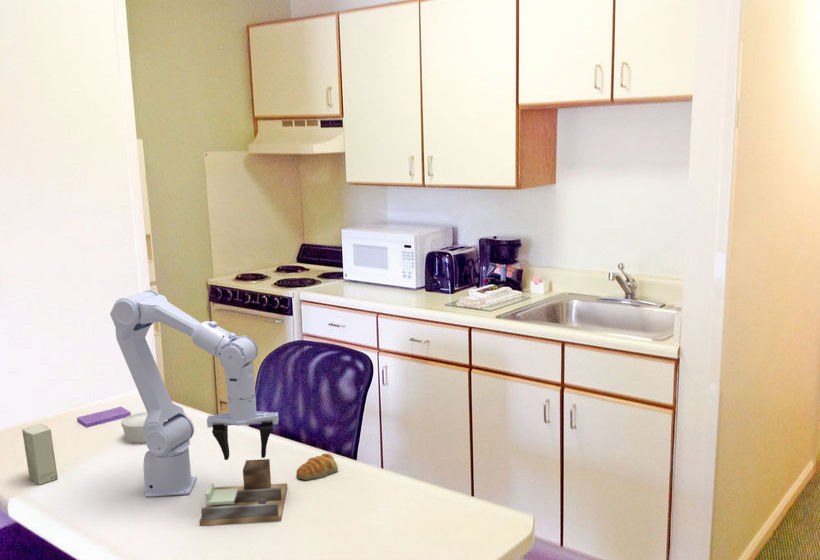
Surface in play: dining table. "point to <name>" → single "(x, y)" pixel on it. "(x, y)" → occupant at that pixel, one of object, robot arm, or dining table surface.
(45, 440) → the skincare box
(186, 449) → the robot arm
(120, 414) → the purple flat block
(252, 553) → the dining table surface
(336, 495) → the dining table surface
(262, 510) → the board
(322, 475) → the pastry
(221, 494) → the cover
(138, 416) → the ramekin
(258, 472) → the brown block
